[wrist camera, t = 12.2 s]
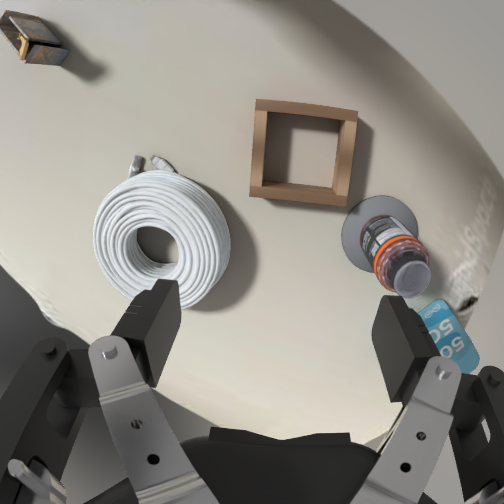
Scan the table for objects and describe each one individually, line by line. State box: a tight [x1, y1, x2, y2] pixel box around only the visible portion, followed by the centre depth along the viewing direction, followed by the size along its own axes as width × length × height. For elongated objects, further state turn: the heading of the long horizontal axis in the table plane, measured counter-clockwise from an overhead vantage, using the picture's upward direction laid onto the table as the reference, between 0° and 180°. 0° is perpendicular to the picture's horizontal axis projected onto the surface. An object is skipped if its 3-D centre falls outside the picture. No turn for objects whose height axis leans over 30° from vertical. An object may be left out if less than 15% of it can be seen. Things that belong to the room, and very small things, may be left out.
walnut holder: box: [249, 99, 358, 207], centre depth 32 cm, size 10×10×3 cm
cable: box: [93, 155, 231, 310], centre depth 37 cm, size 18×18×6 cm
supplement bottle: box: [360, 215, 431, 298], centre depth 31 cm, size 6×6×11 cm
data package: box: [418, 299, 480, 374], centre depth 37 cm, size 12×4×12 cm, turn 136°
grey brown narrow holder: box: [0, 10, 69, 66], centre depth 25 cm, size 11×3×10 cm, turn 42°
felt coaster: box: [341, 196, 417, 272], centre depth 37 cm, size 10×10×1 cm
